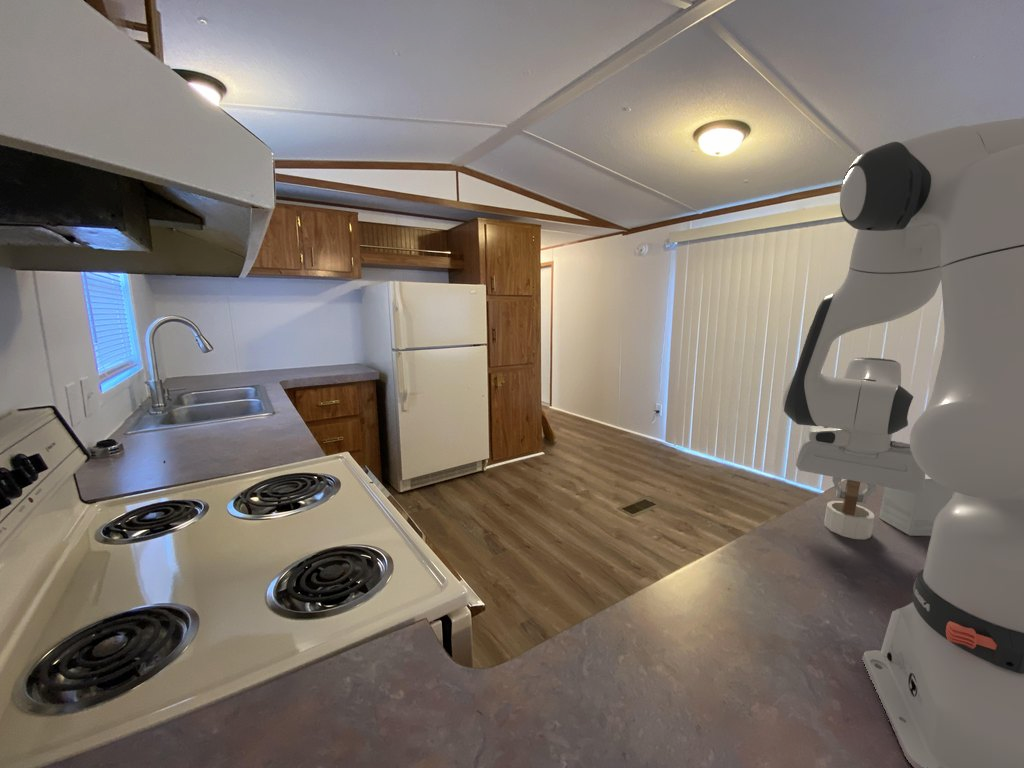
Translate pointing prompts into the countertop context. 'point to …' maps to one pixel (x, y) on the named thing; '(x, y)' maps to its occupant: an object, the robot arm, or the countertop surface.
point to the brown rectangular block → (850, 497)
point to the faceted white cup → (849, 521)
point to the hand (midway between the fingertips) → (850, 499)
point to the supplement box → (914, 507)
